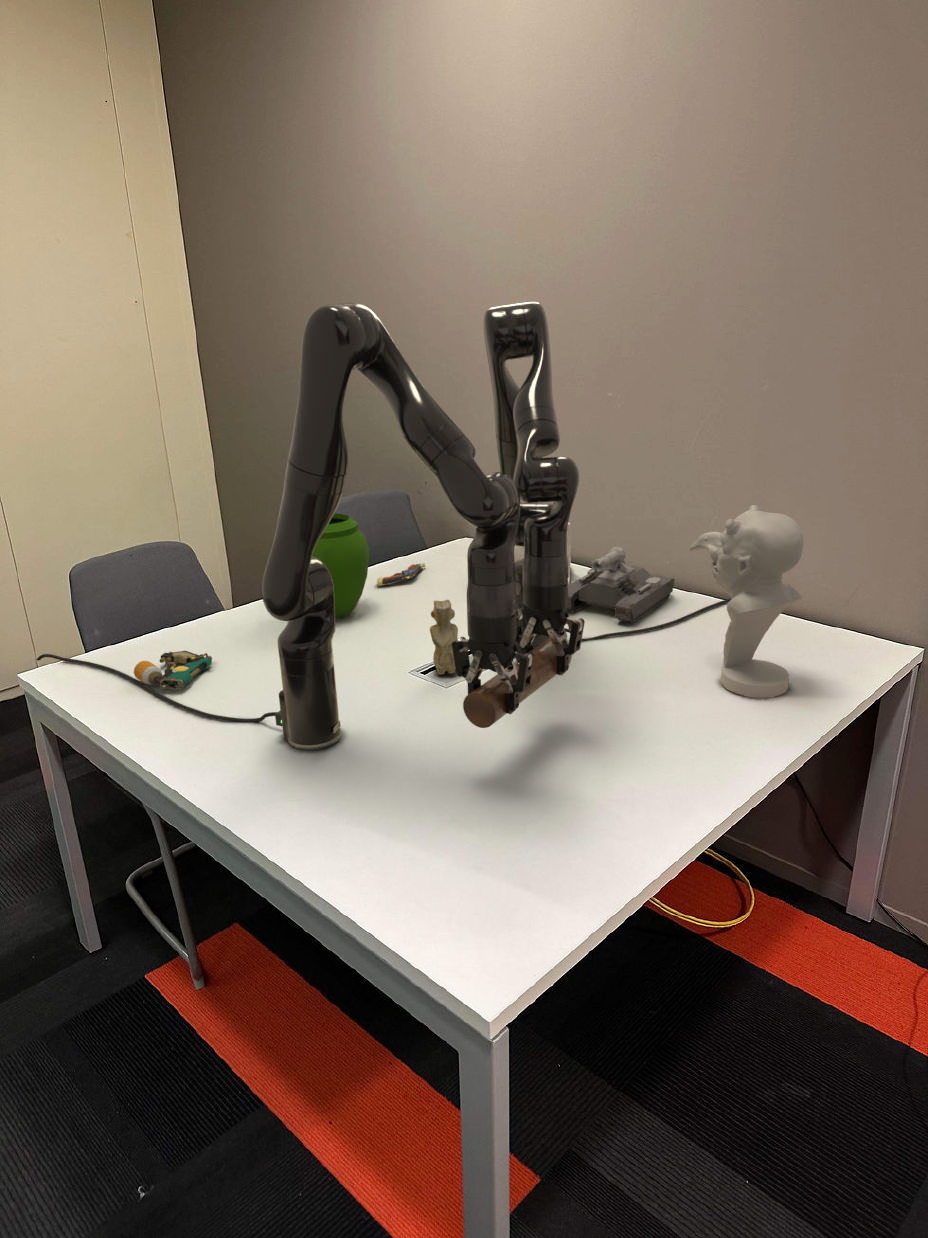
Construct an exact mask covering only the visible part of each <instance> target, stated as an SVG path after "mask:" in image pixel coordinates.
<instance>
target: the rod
mask: <svg viewBox="0 0 928 1238" xmlns="http://www.w3.org/2000/svg"><path fill="white" fill-rule="evenodd" d="M530 652H533V653H534V655H535V659H534V666H533V673H532V680H531V685H530V686H529V687H528V688H526V689H525V690H524V691H523V692H519V704H521V703H522V702H524V701H525V700H526V699H527V698H528V697H530V696H531V695H532V694H534V693H535V692H536V691H538V690H539V689H540V688H541V687H543V686H544V685H545V684H547V683H548V682H549V681H551V680H552V679H553V678H554V677H556V676H558V675H557V655H559V654H558V652H557V649H556V647H555V645H554V644H552V642H551V639H550V638H549V639H547V640H546V641H544V642H543V643H541V644H540V645H539V646H537V647H536V648H534V649H533V650H531V651H530ZM528 653H529V652H528ZM528 653H527V654H528ZM572 657H573V655H570V654H569V665H570V664H571V661H572ZM514 664H515V666H516V668H517V676H518V671H519V667H518V666H517V660H516V661H514ZM507 670H508V668H506V669H505V672H506V671H507ZM506 692H507V690H506V688H505V686H504V683H503V681H501V680H500V679H499V676H498V674H497V673H496V674H495V675H494V676H493V677H491V678H490V679H489V680H486V681H485V682H484V683H483V684H481V686H480V687H478V688H477V689H475V690H474V691H473V692H471V693H470V694H468V693H467V695H466V696H465V697H464V699H463V703H462V708H463V712H464V716H465V717H466V718H467V720H468V721H469V722H470V723H471V724H472V725H473V726H475V727H477V728H481V729H487V728H490V727H492V726H493V725H494V724H496V723H497V722H498V721H499V720H500V719H502V718H503V717H504V716H506V715H507V714H508V713H506V705H505V693H506Z"/></svg>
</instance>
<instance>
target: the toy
mask: <svg viewBox="0 0 928 1238" xmlns="http://www.w3.org/2000/svg"><path fill="white" fill-rule="evenodd" d="M626 557H627V556H626V551H625V549H624V548H622V547H621V546H614V547H612V548H611V549H610V550H609V552H608V553H607V554H605V555H604V556H601V557H599V558H598V559H597V557H596V558H594V559H593V560H592V561H590V562H589V563H590V564H591V565H592V567H591V568H590V569H589V570H587V573H586V575H584V576H582V577H580V578H578V579H577V580H575V581H573V582H570V583H569V585H568V603H567V612H572V613H575V612H577V611H579V610H581V609H582V608H585V607H586V606H588V605H592V606H598V607H602V608H603V607H604V608H609V609H613V610H614V618H615V619H617V620H618V621H621V622H626V623H631V624H634V623H635V622H637V621H638V620H640V619H641V618H642V617H644V616H645V615H647V614H648V613H650V612H651V611H652V610H654V609H655V608H657V607H659V606H660V605H661V604H663V603H664V602H666V601H667V600H669V598H670V596H671V594H672V593H673V591H674V585H675V580H676V579H675V578H673V577H668V576H663V575H656V576H655V577H654V576H651V574H650V573H649V572H648V571H647V570H646V568H644V567H641V566H635V565H629V564H628V563H627V562H626V561H625V559H626Z"/></svg>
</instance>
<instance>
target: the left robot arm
mask: <svg viewBox="0 0 928 1238" xmlns="http://www.w3.org/2000/svg"><path fill="white" fill-rule="evenodd" d="M355 370H357V371H358V372H360V373H361V374H362V375H363V376H364V377H366V378H367V379H368V380H369V381H370V382H371V383H372V384H373V385H374V386H375V387H376V388H377V389H378V391H379V392H380V393H381V395H382V396H383V398H384V399H385V401H386V403H387V404H388V406H389V408H390V410H391V412H392V415H393V417H394V419H395V422H396V425H397V427H398V429H399V431H400V433H401V435H402V436H403V438H404V439H405V441H406V442H407V444H408V446H410V448H411V449H412V450H413V452H414V453H415V454H416V455H417V456H418V457H419V458H420V460H421V461H422V462H423V463H424V464H425V465H426V467H428V469H429V470H430V471H431V472H432V473H433V474H434V475H435V476H436V478H437V479H438V481H439V483H440V486H441V488H442V489H443V491H444V493H445V494H446V496H447V498H448V499H449V501H450V504H451V505H452V506H453V508H454V509H455V511H456V513H457V514H458V515H459V517H461V518H462V519H463V520H464V521H465V522H466V523H468V524H469V525H470V526H472V527H474V528H475V532H474V535H473V536H474V537H473V539H472V541H470V544H468V549H467V555H466V556H467V557H466V558H467V586H466V587H467V588H466V621H467V623H466V626H467V636H468V639H467V638H466V637H465V636H460V637H458V638H457V640H455V641H453V642H452V650H453V656H454V662H455V674H456V676H457V677H458V678H461V677H462V678H464V679H465V681H466V682H467V695H468V694H470V693H471V692H473V691H474V690H475V689H477V688H478V687H480V686H481V685H482V679H481V678H480V677H481V675H482V673H483V670H484V671H485V670H490V671H492V672H494V673H496V675H497V674H498V676H499V679H500V680H501V681H503V683H504V686H505V688H506V690H507V692H506V693H505V705H506V713H507V714H508V715H512V714H513V713H514V712H515V711H516V710H517V709H519V707H520V703H519V692H523V691H524V690H525V689H526V688H528V687H529V686H530V685H531V680H532V673H533V666H534V659H535V655H534V653H533V652H529V653H528V654H527V653H524V652H521V651H519V650H518V648H517V645H516V642H515V640H516V635H517V597H516V587H515V565H514V561H515V560H514V546H515V541H516V536H517V530H518V523H519V517H520V502H521V500H520V494H519V490H518V487H517V485H516V483H515V482H514V480H513V479H512V478H511V477H509V476H508V475H506V474H504V473H501V472H499V471H494V472H490V473H487V474H485V473H484V471H483V470H482V469H481V467H480V465H478V463H477V461H476V459H475V456H476V448H475V446H474V444H473V443H472V441H471V440H470V439H469V438H468V437H467V436H466V434H465V433H464V432H463V431H462V430H461V429H460V427H459V426H458V425H457V424H456V423H455V421H453V420H452V419H451V417H450V416H449V415H448V414H447V413H446V412H445V410H443V408H442V407H441V406H440V405H439V403H438V402H437V401H436V400H435V398H433V396H432V395H431V394H430V393H429V391H428V389H426V386H424V385H423V383H422V382H421V380H420V379H419V377H418V376H417V374H416V373H415V372H414V370H413V369H412V367H411V366H410V364H409V363H408V361H407V360H406V358H405V356H404V355H403V354H402V353H401V351H400V349H399V348H398V346H397V345H396V343H395V342H394V340H393V338H392V337H391V334H390V333H389V331H388V330H387V328H386V326H385V325H384V324H383V322H382V321H381V319H380V318H379V317H378V316H377V314H376V313H375V312H374V311H373V310H372V309H370V308H369V307H368V306H366V305H364V304H362V303H358V302H344V303H331V304H325V305H320V306H318V307H317V308H316V309H315V310H314V311H313V312H312V313H311V314H310V315H309V316H308V319H307V320H306V322H305V325H304V329H303V333H302V340H301V353H300V372H299V386H298V387H299V389H298V395H297V396H298V398H297V405H296V411H295V417H294V423H293V429H292V436H291V443H290V447H289V452H288V456H287V463H286V469H285V475H284V483H283V491H282V497H281V502H280V506H279V512H278V516H277V522H276V528H275V533H274V537H273V541H272V546H271V549H270V552H269V554H268V559H267V563H266V565H265V569H264V573H263V576H262V580H261V597H262V602H263V605H264V607H265V609H266V611H267V612H268V614H269V615H270V616H271V617H272V618H273V619H275V620H278V621H281V622H287V623H286V625H285V627H284V628H283V629H282V631H281V632H280V634H279V635H278V637H277V652H278V659H279V668H280V677H281V686H282V689H281V690H280V691H279V692H278V701H279V711H271V712H266V713H264V714H262V715H261V716H260V717H255V718H242V717H241V718H240V717H231V716H225V715H218V714H213V713H208V712H205V711H201V710H198V709H196V708H193V707H190V706H188V705H184V704H182V703H180V702H178V701H175V700H173V699H171V698H169V697H168V696H165V695H163V694H161V693H160V692H159V691H158V690H157V691H156V690H155V689H153V688H152V687H150V686H149V685H147V684H145V683H143V682H142V681H140V680H139V679H137V678H134V677H132V676H131V675H128V674H126V673H124V672H122V671H120V670H118V669H114V668H112V667H109V666H106V665H103V664H99V663H95V662H91V661H86V660H81V659H74V658H68V657H63V656H59V655H55V654H51V653H43V654H41V655H39V656H38V657H37V658H36V661H41V660H43V658H51V659H55V660H57V661H61V662H67V663H73V664H74V663H75V664H80V665H85V666H89V667H94V668H98V669H102V670H105V671H107V672H108V671H109V672H111V673H114V674H116V675H119V676H120V677H123V678H125V679H127V680H129V681H131V682H133V683H135V684H136V685H138V686H139V687H141V688H143V689H145V690H146V691H148V692H150V693H151V694H153V695H154V696H156V697H157V698H160V699H161V700H164V701H165V702H168V703H170V704H171V705H173V706H175V707H177V708H179V709H183V710H185V711H188V712H191V713H193V714H196V715H199V716H202V717H206V718H210V719H214V720H219V721H221V720H222V721H228V722H234V723H260V722H263V721H264V720H265V719H266V718H268V717H274V718H275V725H276V726H278V727H282V736H283V737H282V738H283V741H284V742H287V743H288V744H289V745H290V746H291V747H293V748H295V749H297V750H301V751H302V750H303V751H317V750H322V749H325V748H329V747H331V746H333V745H335V744H336V743H337V742H338V741H340V739H341V737H342V736H341V735H342V732H341V728H340V727H341V725H342V724H341V720H340V717H339V704H338V693H337V692H338V691H337V684H336V683H337V682H336V671H335V661H334V660H335V659H334V649H333V638H334V635H335V632H336V619H335V599H334V586H333V581H332V578H331V575H330V572H329V570H328V569H327V567H326V566H325V564H324V563H323V562H322V561H320V560H319V559H318V558H316V557H312V555H313V552H314V549H315V546H316V544H317V542H318V540H319V539H320V537H321V535H322V533H323V532H324V530H325V529H326V527H327V525H328V524H329V522H330V520H331V519H332V517H333V515H334V514H336V511H337V510H338V507H339V506H340V504H341V500H342V498H343V495H344V490H345V485H346V481H347V475H348V471H349V464H350V450H349V443H348V439H347V434H346V430H345V425H344V419H343V418H344V417H343V416H344V415H343V413H344V412H343V411H344V410H343V409H344V404H345V403H344V402H345V397H346V393H347V388H348V383H349V380H350V377H351V374H352V371H355ZM469 652H470V653H471V655H472V660H471V661H470V655H469ZM514 660H516V661H517V666H518V667H519V671H518V676H517V668H516V666H515V664H514V662H515V661H514ZM506 668H508V670H507V671H506V672H505V669H506Z"/></svg>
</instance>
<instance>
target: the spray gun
mask: <svg viewBox="0 0 928 1238" xmlns="http://www.w3.org/2000/svg"><path fill="white" fill-rule="evenodd" d="M212 660H213V657H212V656H211V655H208V653H207V652H205V653H201V654H197V653H194V652H192V651H191V652H190V651H188V650H180V651H169V652H164V653H162V654H161V655H160V658H159V660H158V662H159V663H161V664H163V663H165V664H166V668H165V670H163V672H164V674H163V673H162V669H160V668H159V666H157V665H156V664H154V663H152V662H151V661H149V660H141V661H139V662H138V663H136V665H135V666H134V668H133V675H134V677H135V679H136V680H138V681H140V682H141V683H143V684H145V685H146V686H155V685H157V686H158V687H160V688H161V689H171V690H172V689H173V690H182V689H184V687H185V686H186V685H188V684H189V683H190V682H191V681H192V679H193V678H195V677H196V676H197V675H198V674H200V673H201V672H202V671H203V670H206V669H208V668H209V667H210V666H211V665H212V662H213V661H212ZM178 663H179V664H181V665H179V666H176V665H177V664H178Z"/></svg>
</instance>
